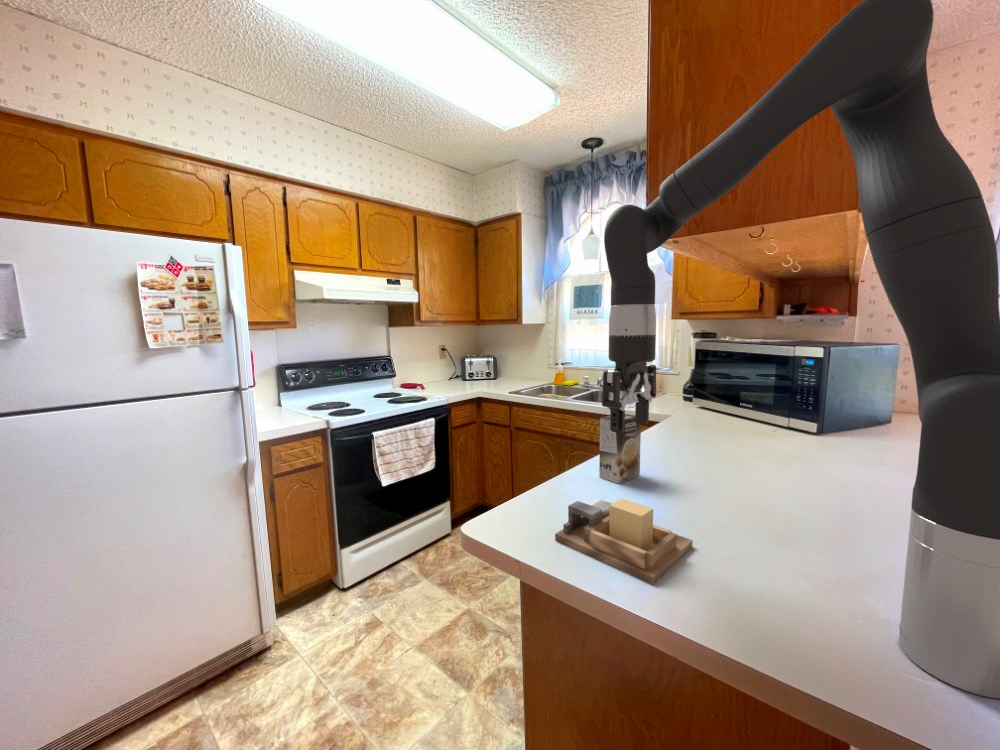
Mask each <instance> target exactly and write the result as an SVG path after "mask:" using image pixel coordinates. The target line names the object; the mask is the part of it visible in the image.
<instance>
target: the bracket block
mask: <svg viewBox="0 0 1000 750" xmlns="http://www.w3.org/2000/svg"><path fill="white" fill-rule="evenodd" d="M653 525H654V508H652V507H649V506H646V505H643V504H639V503H637V502H635V501H630V500H627V499H624V498H620V499H618V500H616V501H615V502H613V503H612V504H611V505H610V512H609V536H610V537H612V538H615V539H617V540H620V541H622V542H625V543H627V544H630V545H632V546H635V547H637V548H640V549H643V550H645V551H649V550H650V549H651V548H652V547H653Z"/></svg>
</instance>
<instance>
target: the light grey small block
mask: <svg viewBox="0 0 1000 750" xmlns="http://www.w3.org/2000/svg"><path fill="white" fill-rule="evenodd" d="M611 504H613V503H612V502H608V501H605V500H602V499H601V500H599V501H597V502H596V503H594V504H592V505H591V506H594V507H597V508H599V509H602V520H603V519H604V518H606V517H607V516H609V512H610V505H611ZM587 523H589V518H587Z"/></svg>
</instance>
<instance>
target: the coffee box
mask: <svg viewBox="0 0 1000 750" xmlns="http://www.w3.org/2000/svg"><path fill="white" fill-rule="evenodd" d="M641 430H642V424H641V423H637V422H636V421H635V414H629V413H625V430H624V432H622V433H616V432H612V431H611V429H610V415H607V416H601V417H599V469H598V471H599V475H598V476H599V478H601V479H604V480H607V481H609V482H612V483H615V484H620V483H623V482H627V481H629V480H632V479H635V478H637V477H640V473H641V441H642V440H641V437H642V436H641V435H642V434H641V433H642V431H641Z"/></svg>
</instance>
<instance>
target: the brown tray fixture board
mask: <svg viewBox="0 0 1000 750" xmlns="http://www.w3.org/2000/svg"><path fill="white" fill-rule="evenodd" d="M567 508H568V509H567V511H568V512H567V513H568V514H567V515H568V519H567V520H568V521H567V522H566V523H564V524H562V525H563V528H562V529H561V530H559V531H557V532H556V533H554V538H555V539H554V540H555V541H557V542H559V543H561V544H563V545H565V546H568V547H570V548H572V549H575V550H576V551H578V552H581V553H583V554H585V555H587V556H590V557H592V558H594V559H596V560H599V561H601V562H603V563H605V564H608V565H610V566H611V567H614V568H616V569H618V570H621V571H622V572H624V573H627V574H629V575H632V576H634V577H635V578H636V577H637V578H638V579H640V580H642V581H645V582H647V583H648V584H651V585H655V584H656V582H658V581H659V580H660V579H661V578H662V577H663V576H664V575H665V574H666V573H667V572H668V571H669V570H670V569H671V568H672V567H673V566H674V565H675V564H676V563H677V562H678V561H679V560H680V559H682V558H683V557H684V555H686V554H687V553H688V552H689V551H690V550H691V549H692V548H693V545H694V544H693V542H694V541H693V540H692V539H689V538H686V537H684V536H682V535H678V534H677V533H674V532H673V531H672V530H670V529H666V528H664V527H662V526H658V525H656V524H653V547H652V548H651V549H650V550H649V551H645V550H643V549H640V548H637V547H635V546H632V545H630V544H627V543H625V542H622V541H620V540H617V539H615V538H612V537H610V536H609V516H607V517H606V518H604V519H603V520H602V509H599V508H597V507H594V506H592V505H591V504H587V503H584V502H582V501H579V500H577V501H575V502H573V503H571V504H569V505H568V507H567ZM587 518H589V523H587Z"/></svg>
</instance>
